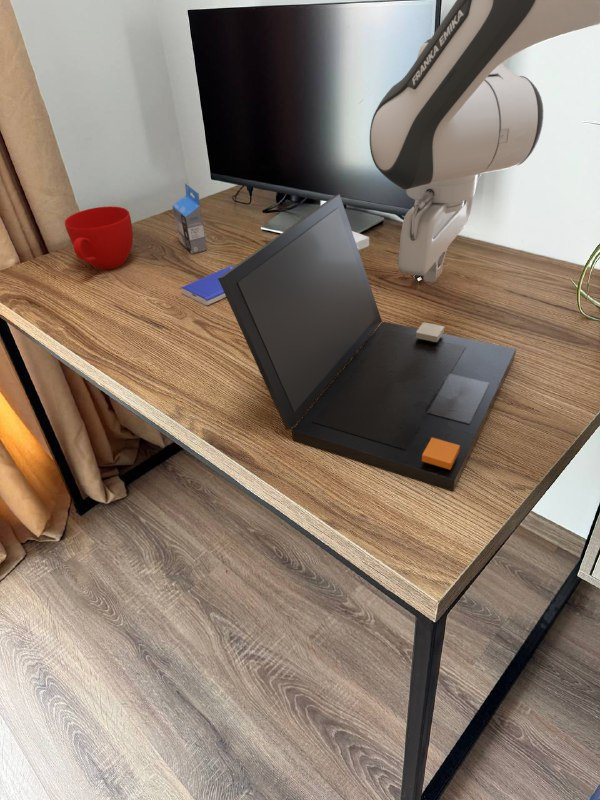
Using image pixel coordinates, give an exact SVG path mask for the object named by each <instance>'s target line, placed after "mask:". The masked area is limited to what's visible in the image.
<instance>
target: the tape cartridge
mask: <svg viewBox="0 0 600 800" xmlns="http://www.w3.org/2000/svg"><path fill="white" fill-rule="evenodd" d="M184 187H185V195H184V196H183V197H181V198H180V199H178V200H177V201H176V202H175V203H173V205H172V211H173V216H174V222H175V226H176V230H177V235H178V241H179V243H180V244H181V245H182V246H183V247H184V248H185V249H186V250H187V251H188V252H190V254H191V255H194V254H195V255H196V254H199V253H202V252H203V253H204V252H206V251H208V247H207V242H206V234H205V228H204V222H203V216H202V210H201V203H200V195H199V193H198V192H197V191H196V190H194V189H193V188H192V187H191V186H189V185H188V184H187V183H184ZM191 194H192V195H193V196H194V197H193V196H192V195H191Z"/></svg>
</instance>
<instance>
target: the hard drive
mask: <svg viewBox="0 0 600 800" xmlns="http://www.w3.org/2000/svg"><path fill="white" fill-rule="evenodd" d="M235 266H236V265H234V264H231V265H229V266H227V267H225V268H222V269H220V270H217V271H215V272H213V273H210V274H208V275H206V276H203V277H202V278H200V279H197V280H195V281H193V282H190V283H188V284H186V285H184V286H183V285H182V286H181V287H180V290H181V294H182V295H184V296H186V297H188V298H189V299H192V300H194V301H196V302H198V303H200V304H202V305H204V306H209V305H212V304H215V303H216V302H218V301H221V300H223V299H225V298H227V297H226V295H225V293H224V291H223V289H222V286H221V284H220V282H219V280H218V278H219V277H221V276H222V275H224V274H225V273H226V272H228V271H229V270H231V269H232V268H233V267H235Z"/></svg>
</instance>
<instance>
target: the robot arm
mask: <svg viewBox="0 0 600 800" xmlns="http://www.w3.org/2000/svg"><path fill="white" fill-rule="evenodd" d="M598 25H600V0H456V1H455V2H454V3H453V5H452V7H450V9H449V10H448V13H447V14H446V16H444V18H443V20H442V21H441V23H440V25H439V26H438V27H437V28H436V30H435V31H434V34H433V35H432V36H431V37H430V38H428V39H426V41H425V42H423V43H422V44H421V46H420V48H419V51H418V54H417V58H416V60H415V61H414V63H413V65H412V66H411V67H410V69H409V70H408V72H407V73H406V74H405V76H404V77H402V79H401V80H400V81H398V82H397V83H395V84H394V85H393V86H392V87H391V88H390V89H389V90H388V91H387V93H386V94H385V95H384V96H383V98H382V99H381V100H380V102H379V104H378V105H377V108H376V109H375V111H374V113H373V116H372V119H371V122H370V123H371V124H370V127H369V149H370V154H371V158H372V162H373V163H374V166H375V167H376V168H377V170H378V171H379V172H380V173H381V174H382V175H383V176H384V177H385V178H386V179H387V180H389V181H390V182H391V183H393V184H394V185H396V186H397V187H399V188H401V189H403V190H405V193H406V195H407V196H408V197H409V198H410V199H412V200H414V203H413V206H412V207H411V208H410V209H409V210H407V212H406V214H405V215H404V217H403V220H402V225H401V229H400V237H399V238H400V239H399V247H398V256H397V257H398V258H397V266H398V269H399V271H400V272H401V273H403V274H408V275H413V276H420V277H423V278H422V279H423V281H424V282H427V283H435V282H436V281H437V279H439V277H440V276H441V275H442V274H443V265H444V261H445V258H446V255H447V252H448V247H449V246H450V245H451V244H452V242H453V241H454V240H455V239H456V238H457V237H458V235H459V234H460V233H461V231H462V230H463V229H464V227H466V226H467V223H468V221H469V218H470V215H471V211H472V206H473V201H474V197H475V193H476V187H477V184H478V181H479V179H480V178H481V176H482V174H487V173H492V172H498V171H503V170H507V169H511V168H513V167H515V166H520V165H522V164H523V163H524V162H525V161H526V160H527V159H528V158H529V157H530V156H531V154H532V153H533V151H535V148H536V146H537V144H538V142H539V140H540V136H541V133H542V129H543V125H544V103H543V100H542V99H543V98H542V96H541V94H540V91H539V89H538V88H537V87H536V85H535V84H534V83H533V82H532V81H531V80H530V79H529V78H528V77H526V76H523V75H518V74H516V73H515V72H514V71H512V70H511V69H509V68H508V67H507V66H505V64H503V63H504V62H506V61H507V60H508V59H510V58H512V57H513V56H515V55H517V54H519V53H521V52H522V51H525V50H527V49H529V48H532V47H534V46H536V45H539V44H542V43H544V42H546V41H549V40H552V39H555V38H557V37H561V36H564V35H567V34H571V33H575V32H578V31H581V30H584V29H587V28H591V27H594V26H598Z"/></svg>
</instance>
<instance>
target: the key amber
mask: <svg viewBox="0 0 600 800" xmlns="http://www.w3.org/2000/svg"><path fill="white" fill-rule="evenodd" d="M459 450H460V445H457V444H453V443H450V442H446V441H443V440H439V439H436V438H431V440H430V442H429V443H428V445H427V447H426V449H425V451H424V452H423V454H422V461H423V462H426V463H429V464H433V465H436V466H439V467H443V468H446V469H449V470H451V468H452V465H453V463H454V461H455V459H456V457H457V455H458V453H459Z"/></svg>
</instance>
